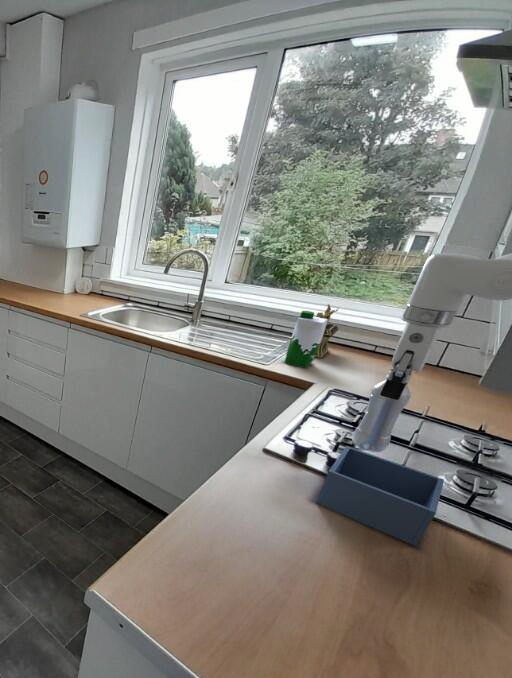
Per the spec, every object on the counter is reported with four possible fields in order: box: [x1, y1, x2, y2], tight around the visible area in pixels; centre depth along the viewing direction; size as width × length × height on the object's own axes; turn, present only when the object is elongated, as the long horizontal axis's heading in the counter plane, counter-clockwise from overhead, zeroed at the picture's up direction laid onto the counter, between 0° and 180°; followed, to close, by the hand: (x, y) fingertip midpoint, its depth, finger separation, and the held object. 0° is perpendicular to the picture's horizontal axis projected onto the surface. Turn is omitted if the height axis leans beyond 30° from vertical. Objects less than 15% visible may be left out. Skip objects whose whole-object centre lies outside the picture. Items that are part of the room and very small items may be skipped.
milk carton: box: [284, 310, 328, 369], centre depth 155 cm, size 9×9×20 cm
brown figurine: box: [314, 303, 340, 358], centre depth 169 cm, size 20×10×20 cm, turn 133°
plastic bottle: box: [351, 368, 413, 453], centre depth 94 cm, size 6×7×20 cm
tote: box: [315, 445, 445, 547], centre depth 83 cm, size 16×15×8 cm
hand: (392, 392), depth 92 cm, fingers closed on plastic bottle, 6 cm apart
